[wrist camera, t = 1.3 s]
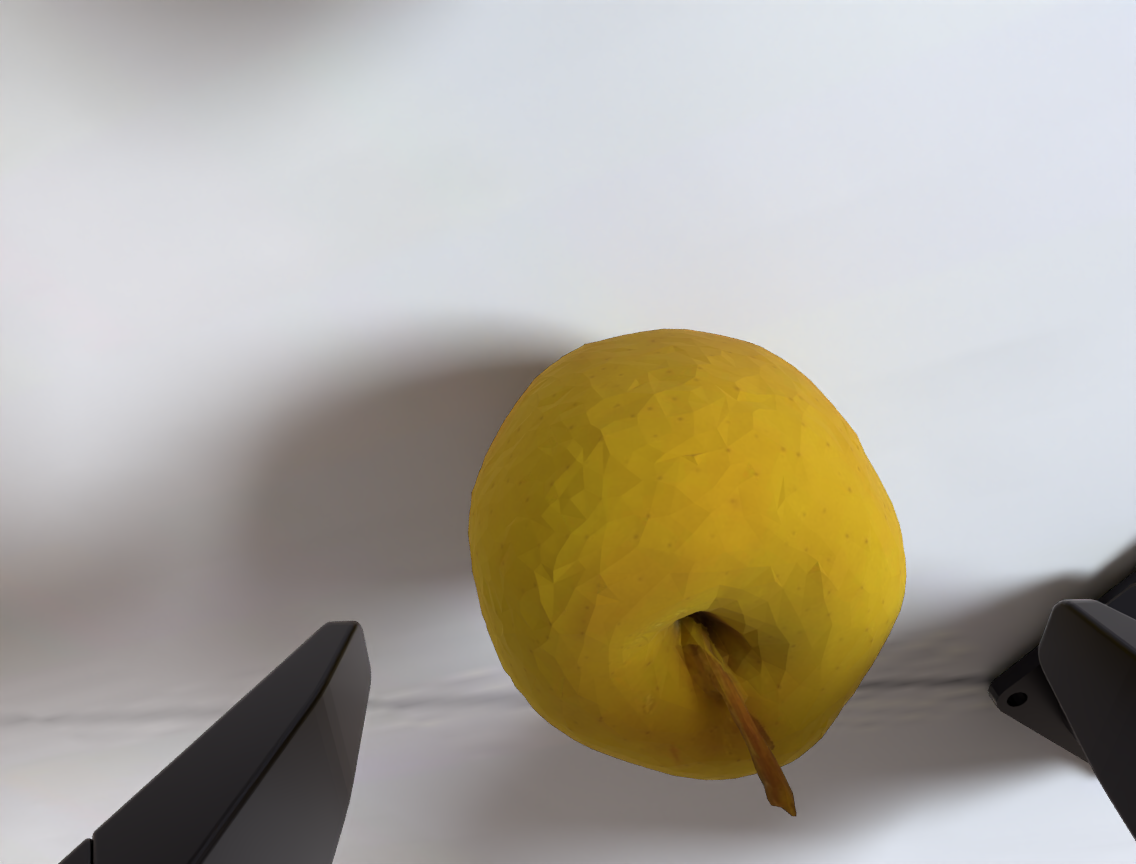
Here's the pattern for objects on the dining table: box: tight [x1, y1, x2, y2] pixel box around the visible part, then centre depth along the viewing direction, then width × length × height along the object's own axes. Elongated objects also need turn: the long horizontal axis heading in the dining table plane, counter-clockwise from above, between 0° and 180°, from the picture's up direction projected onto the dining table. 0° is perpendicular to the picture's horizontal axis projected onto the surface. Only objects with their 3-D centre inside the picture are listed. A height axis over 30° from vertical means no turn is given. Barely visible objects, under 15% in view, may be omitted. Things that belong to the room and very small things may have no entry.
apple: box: [468, 329, 906, 816], centre depth 11 cm, size 6×6×8 cm
